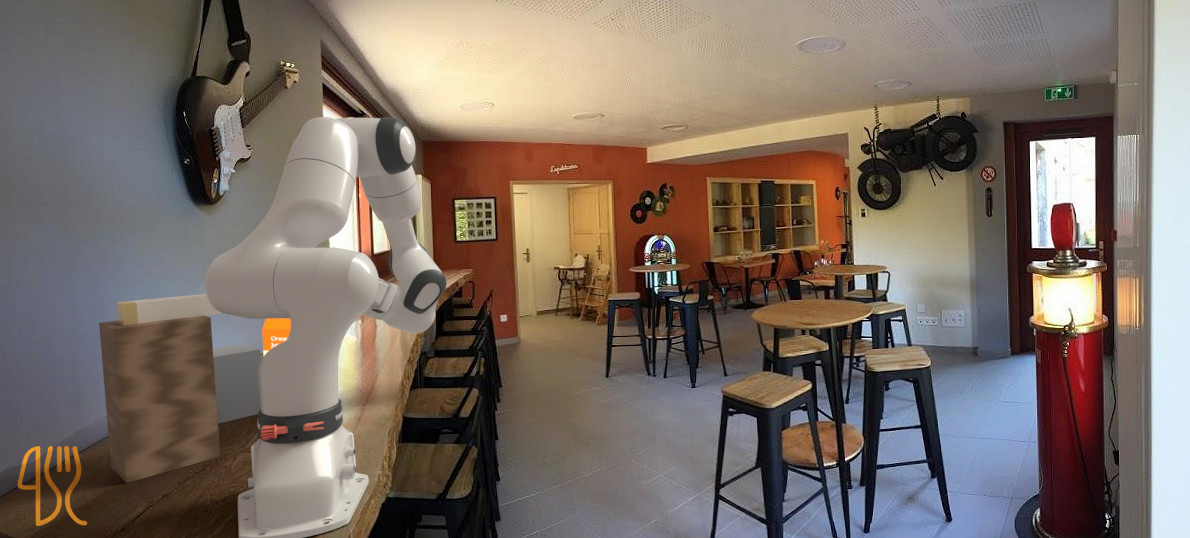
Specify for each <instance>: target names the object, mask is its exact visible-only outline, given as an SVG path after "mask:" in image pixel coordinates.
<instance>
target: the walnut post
mask: <svg viewBox="0 0 1190 538" xmlns="http://www.w3.org/2000/svg"><path fill="white" fill-rule="evenodd" d="M211 318H212V317H210V316H208V315H206V316H197V317H189V318H180V319H172V320H163V321H155V322H146V323H138V324H129V325H122V324H119V323H118V320H112V321H111V320H110V321H103V322H98V326H99V338H100V350H101V351H100V352H101V361H102V375H103V385H104V396H105V397H104V399H105V409H106V420H107V421H106V422H107V435H108V444H109V445H108V446H109V456H110V467H111V466H112V468H113V469H114V470H115V471H116V472H117V473H116V472H115V471H114V470H113V469H112V468H111V469H112V470H113V471H114V472H115V473H116V474H117V475H118V476H119V477H120V478H121V479H122V480H123V481H124V483H126V484H128V483H131V482H135V481H138V480H143V479H146V478H148V477H153V476H156V475H159V474H164V473H167V472H170V471H174V470H178V469H181V468H186V467H189V466H192V465H195V464H198V463H199V464H200V463H203V462H207V461H211V460H214V459H218V458H220V457H221V449H220V447H221V446H220V435H219V433H220V431H219V424H218V417H217V403H216V388H215V374H214V359H213V349H214V347H213V333H212V332H213V331H212V320H211Z"/></svg>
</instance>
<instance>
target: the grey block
mask: <svg viewBox="0 0 1190 538" xmlns="http://www.w3.org/2000/svg"><path fill="white" fill-rule="evenodd" d="M213 359H214V374H215V388H216V403H217V417H218V425H219V424H222V423H226V422H231V421H236V420H239V419H242V418H243V419H244V418H248V417H252V416H257V415H258V412H259V410H260V409H261V405H260V389H259V373H258V367H259V364H260V361H261V360H262V354H261V349H260V348H256V347H253V346H251V345H247V344H245V343H244V344H243V343H242V344H236V345H235V344H234V345H228V346H221V347H216V348H215V347H213Z"/></svg>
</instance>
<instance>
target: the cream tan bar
mask: <svg viewBox="0 0 1190 538" xmlns="http://www.w3.org/2000/svg"><path fill="white" fill-rule="evenodd" d="M115 303H116V311H117V313H116V314H117V321H118V323H119V324H122V325H129V324H138V323H146V322H155V321H163V320H172V319H180V318H189V317H197V316H212V315H213V316H214V315H221V314H224V313H221V312H219V311H218V310H216V309H215V308H214V307H213V306H212V304H211V303H210V301H209V299H208V297H207V295H206V293H203V294H193V295H182V296H171V297H161V298H148V299H137V300H128V301H127V300H126V301H117V302H115Z"/></svg>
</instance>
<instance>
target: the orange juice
mask: <svg viewBox="0 0 1190 538" xmlns="http://www.w3.org/2000/svg"><path fill="white" fill-rule="evenodd" d="M290 328H291V320H290V319H265V320H264V324H263V326H262V330H261V331H262V347H263V348H262V349H263V351H262V352H263V356H264V355H265V354H266V353H267V352H268V351H269V350H270V349H272V348H273V347H275V346H277V345H278V344H280V343H282V342H284V341H286V340H287V338H288V336H289V333H290Z"/></svg>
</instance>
